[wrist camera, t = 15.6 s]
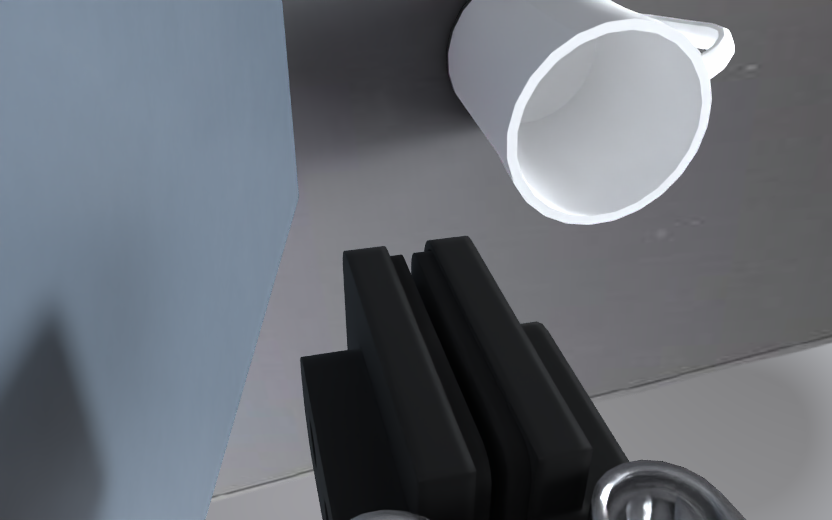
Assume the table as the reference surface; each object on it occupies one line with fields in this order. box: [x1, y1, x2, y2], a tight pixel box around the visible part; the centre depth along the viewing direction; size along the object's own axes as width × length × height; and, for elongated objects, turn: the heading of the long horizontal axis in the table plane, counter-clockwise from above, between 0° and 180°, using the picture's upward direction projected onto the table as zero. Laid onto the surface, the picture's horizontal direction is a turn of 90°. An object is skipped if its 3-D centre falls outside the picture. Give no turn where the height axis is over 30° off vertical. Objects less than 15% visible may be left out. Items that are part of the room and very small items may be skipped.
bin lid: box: [0, 0, 299, 520], centre depth 16 cm, size 18×13×1 cm
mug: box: [447, 0, 734, 225], centre depth 36 cm, size 11×9×10 cm
